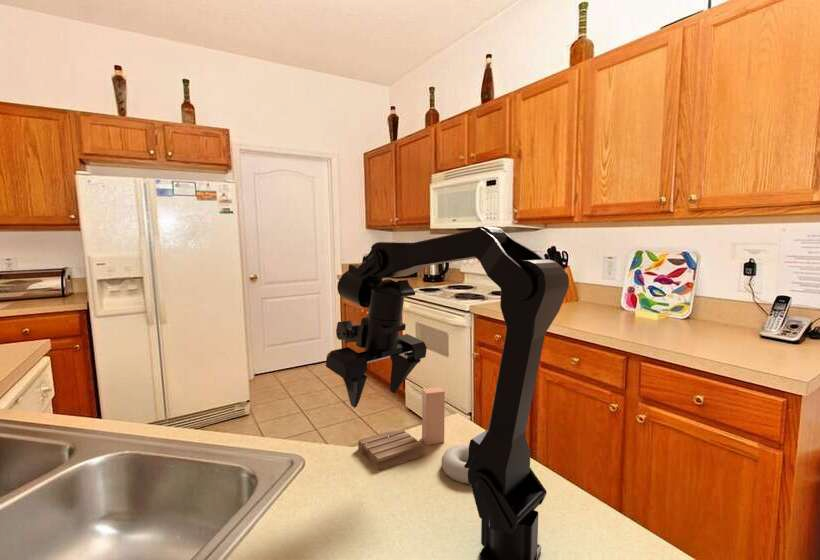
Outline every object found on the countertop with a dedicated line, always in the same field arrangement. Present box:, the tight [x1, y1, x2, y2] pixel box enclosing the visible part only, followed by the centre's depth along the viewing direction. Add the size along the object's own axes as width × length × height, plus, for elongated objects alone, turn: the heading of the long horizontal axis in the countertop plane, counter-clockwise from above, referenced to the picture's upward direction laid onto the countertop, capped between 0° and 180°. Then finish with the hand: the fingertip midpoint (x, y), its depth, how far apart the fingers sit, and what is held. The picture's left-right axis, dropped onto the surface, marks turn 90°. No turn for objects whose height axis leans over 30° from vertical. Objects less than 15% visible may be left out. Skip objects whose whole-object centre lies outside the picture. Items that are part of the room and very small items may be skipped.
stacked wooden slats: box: [357, 427, 425, 471], centre depth 80 cm, size 9×10×2 cm
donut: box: [441, 443, 470, 485], centre depth 73 cm, size 10×4×10 cm
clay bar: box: [421, 386, 446, 446], centre depth 85 cm, size 3×4×11 cm
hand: (374, 398), depth 71 cm, fingers open, 9 cm apart
